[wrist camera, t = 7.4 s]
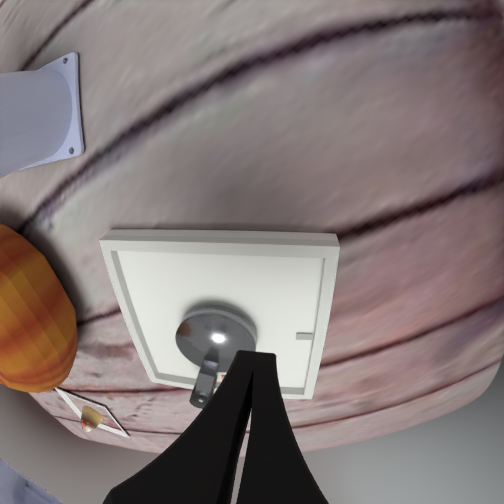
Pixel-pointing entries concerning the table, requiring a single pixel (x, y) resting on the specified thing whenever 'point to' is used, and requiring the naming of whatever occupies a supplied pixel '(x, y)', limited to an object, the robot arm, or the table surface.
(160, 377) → the board
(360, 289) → the table surface
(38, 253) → the pumpkin
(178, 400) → the table surface
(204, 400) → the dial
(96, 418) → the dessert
